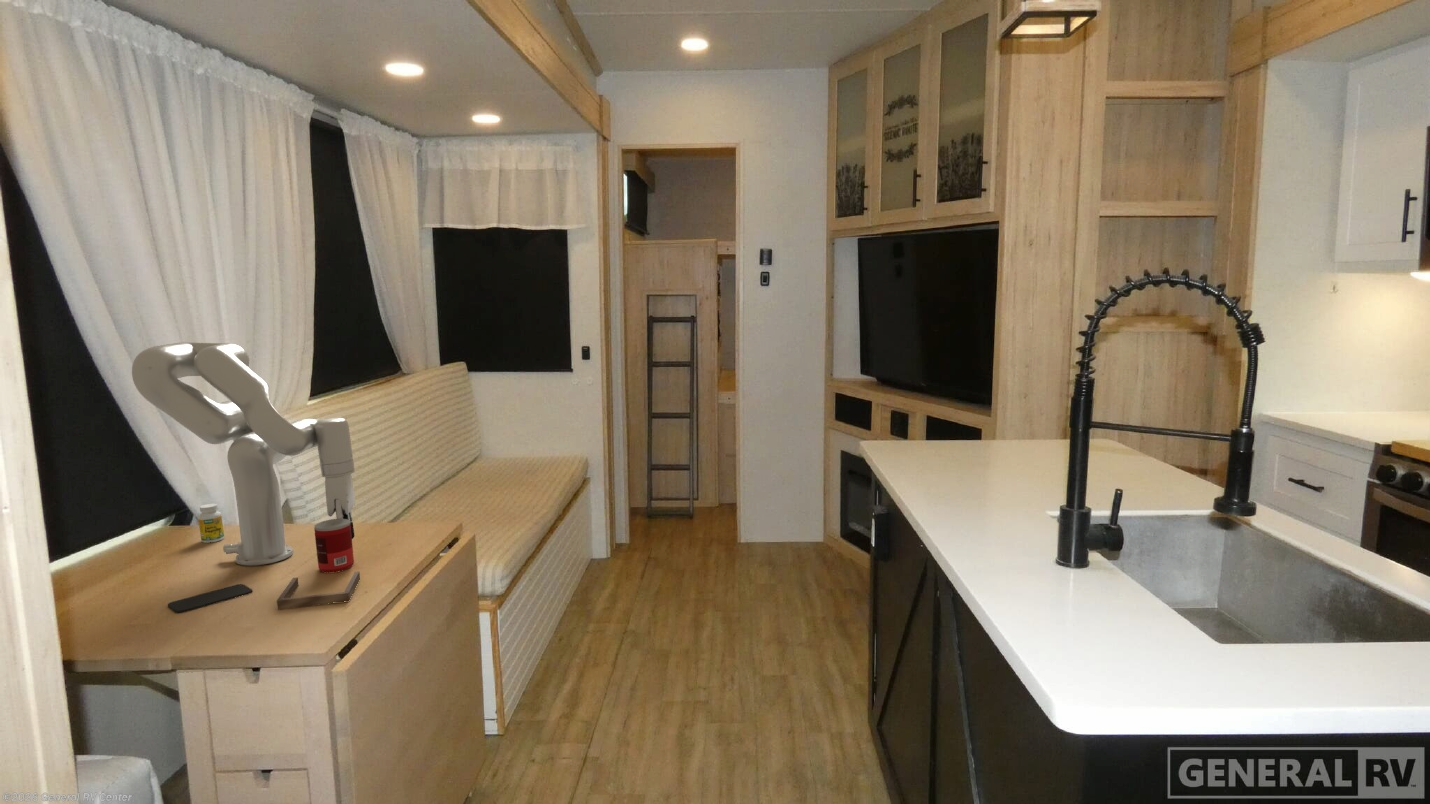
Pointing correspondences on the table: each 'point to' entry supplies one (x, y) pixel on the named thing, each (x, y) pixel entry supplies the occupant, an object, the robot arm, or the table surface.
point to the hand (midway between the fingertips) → (347, 538)
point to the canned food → (334, 545)
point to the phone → (209, 598)
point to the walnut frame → (303, 601)
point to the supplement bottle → (210, 523)
